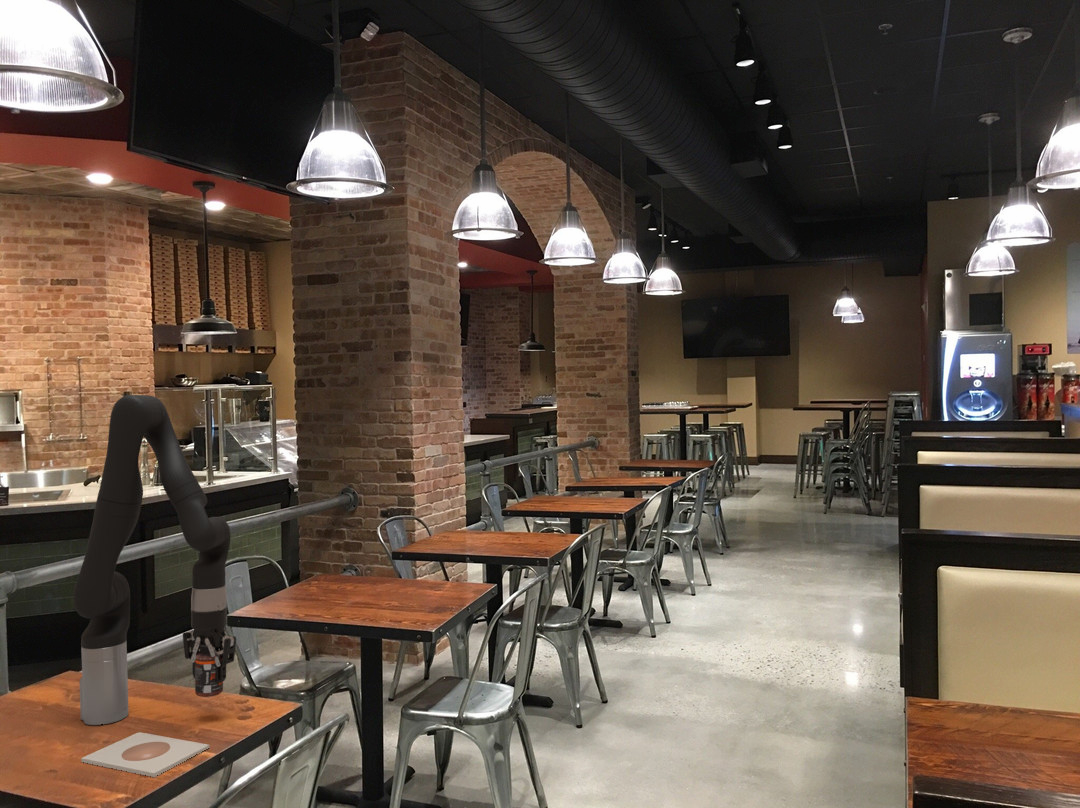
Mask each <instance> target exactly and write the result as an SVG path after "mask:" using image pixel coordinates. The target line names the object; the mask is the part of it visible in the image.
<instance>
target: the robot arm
mask: <svg viewBox="0 0 1080 808" xmlns="http://www.w3.org/2000/svg"><path fill="white" fill-rule="evenodd" d="M143 439H145V440H146V442H147V444H148V445H149V446H150V448H151V449H152V451H153V453H154V455H155V458H156V461H157V466H158V472H159V477H160V483H161V485H162V487H163V490H164V492H165V494H166V495H167V497H168V499H169V502H170V503H171V504H172V506H173V507H174V509H175V511H176V512H177V517H178V521H179V525H180V528H181V532H182V534H183V537H184V539H185V541H186V543H187V544H188V545H189V546H190V548H192V549H193V550H194V551H196V552H200V553H199V557H198V559H197V561H195V562H194V564H193V566H192V572H191V573H192V574H191V575H192V577H191V579H192V580H191V581H192V583H191V584H192V585H191V586H192V588H191V596H190V598H191V599H190V600H191V601H190V604H191V605H190V607H191V608H190V614H191V616H190V617H191V618H190V619H191V622H190V623H191V625H190V626H191V628H192V629H191V630H189V631H184V632H183V633H182V643H183V651H184V658H185V659H189V660H190V662H191V663H192V676H193V679H194V680H195V660H196V656H197V654H199V653H200V645H207V646H208V649H209V651H210V654H211V657H212V658H214V660H215V663H216V682H217V683H220V682H223V683H224V681H225V680H226V679H227V665H228V664H231V663H233V662H234V661H235V655H236V645H237V637H236V636H234V635H233V636H228V635H227V634H226V632H225V627H226V625H227V623H228V622H227V621H228V619H227V618H228V616H227V614H228V610H227V609H228V607H227V606H228V605H227V602H228V601H227V600H228V599H227V598H228V597H227V596H228V595H227V590H226V589H227V588H226V564H227V560H228V555H229V550H230V546H231V545H230V544H231V529H230V525H229V523H228V522H227V521H226V520H225V519H224V518H222V517H220V516H211V517H208V514H207V512H206V509H205V506H207V504H208V498H207V496H206V493H205V491H204V490H203V488H202V487H201V485H200V483H199V481H198V479H197V478H196V476H195V474H194V472H193V471H192V469H191V466H190V465H189V463H188V461H187V459H186V456H185V455H184V452H183V450H182V447H181V444H180V443H179V440H178V437H177V435H176V433H175V430H174V426H173V424H172V422H171V419H170V416H169V413H168V411H167V408H166V406H165V404H164V403H163V402H162V401H161V400H160V399H159V397H158V398H157V397H156V396H153V395H147V394H128V395H124V396H121V397H120V398H119V399H118V400H117V401H115V404H113V407H112V410H111V413H110V418H109V427H108V438H107V450H106V456H105V460H104V466H103V471H102V475H101V481H100V485H99V489H98V492H97V499H96V501H95V507H94V511H93V519H92V524H91V528H90V533H89V536H88V541H87V547H86V550H85V555H84V558H83V561H82V565H81V566H80V570H79V574H78V576H77V579H76V582H75V586H74V588H73V589H74V590H73V592H72V594H73V595H72V603H73V607H74V609H75V611H76V612H77V614H78V615H79V616H81V617H83V618H85V619H89V620H90V621H89V623H88V625H87V626H86V628H85V630H84V631H83V632H82V634H81V636H80V637H81V638H80V645H81V650H80V651H81V676H82V677H80V679H79V702H80V703H79V707H80V720H81V721H83V723H84V724H85V725H90V726H102V725H101V724H103V725H107V724H113V723H116V722H118V721H121V720H123V719H125V718H127V717H128V716H129V713H130V712H129V686H128V685H129V684H128V683H129V681H128V680H129V679H128V650H127V647H128V646H127V645H128V644H127V635H128V630H129V628H130V624H131V623H130V622H131V590H130V586H129V585H130V584H129V583H128V580H127V579H126V576H125V575H123V574H122V573H120V572H117V571H116V567H117V563H118V559H119V557H120V555H121V553H122V551H123V550H124V548H125V546H126V544H127V543H128V541H129V539H130V538H131V536H132V534H133V533H134V530H135V529H136V526H137V523H138V521H139V516H140V513H141V508H142V503H143V497H144V488H143V487H144V486H143V482H142V477H141V472H140V467H139V466H140V465H139V460H140V459H139V458H140V452H141V447H142V444H143ZM218 649H219V650H220V651H219V652H216V650H218ZM219 655H221V659H222V660H220V657H219Z"/></svg>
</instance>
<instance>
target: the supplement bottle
mask: <svg viewBox="0 0 1080 808" xmlns="http://www.w3.org/2000/svg"><path fill="white" fill-rule="evenodd" d="M219 651H220V649H218V650H216V652H219ZM219 657H220V660H222V659H221V655H219ZM194 680H195V681H194V682H195V683H194V691H195V692H194V693H195V695H196V696H198V697H200V698H210V697H216V696H218V695H221V693H222V692H223V691H224V681H223V682H220V683H217V682H216V663H215V660H214V658H212V657H211V654H210V651H209V649H208V646H207V645H200V653H199V654H197V656H196V660H195V679H194Z"/></svg>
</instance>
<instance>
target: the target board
mask: <svg viewBox="0 0 1080 808" xmlns="http://www.w3.org/2000/svg"><path fill="white" fill-rule="evenodd" d="M208 748H211V747H210V744H207V743H201V742H196V741H190V740H184V739H179V738H173V737H168V736H162V735H157V734H153V733H146V732H141V731H139V732H136V733H134V734H132V735H130V736H127V737H124V738H123V739H120V740H118V741H116V742H114V743H111V744H109V745H107V746H105V747H103V748H100V749H99V750H96V751H94V752H92V753H89V754H87V755H85V756H83V757H81V758H80V759H81V760H80V762H81V763H83V762H84V763H83V764H87V763H88V765H92V764H93V766H97V765H98V766H97V767H102V766H103V768H107V769H111V768H113V769H112V770H116V769H117V770H118V771H121V770H122V771H121V772H126V771H127V773H131V774H135V773H136V775H140V774H141V775H142V776H145V775H146V777H150V776H151V777H150V778H157V777H158V776H160V775H162V774H164V773H166V772H168V771H169V769H170V770H172V769H174V768H175V767H177V766H179V765H181V764H183V763H185V762H187V761H188V760H187V759H189V758H191V757H193V756H195V755H196V754H198V753H200V754H202V753H203V752H202V751H204V750H206V749H208ZM208 750H209V749H208ZM206 751H207V750H206ZM201 752H202V753H201ZM204 752H205V751H204ZM198 755H199V754H198ZM196 756H197V755H196ZM196 756H195V757H196ZM193 758H194V757H193ZM191 759H192V758H191ZM186 760H187V761H186ZM189 760H190V759H189ZM184 761H185V762H184ZM182 762H183V763H182ZM180 763H181V764H180ZM178 764H179V765H178ZM176 765H177V766H176ZM174 766H175V767H174ZM173 767H174V768H173ZM171 768H172V769H171ZM117 770H116V771H117ZM167 770H168V771H167ZM165 771H166V772H165ZM163 772H164V773H163ZM161 773H162V774H161ZM141 775H140V776H141ZM157 775H158V776H157Z"/></svg>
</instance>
